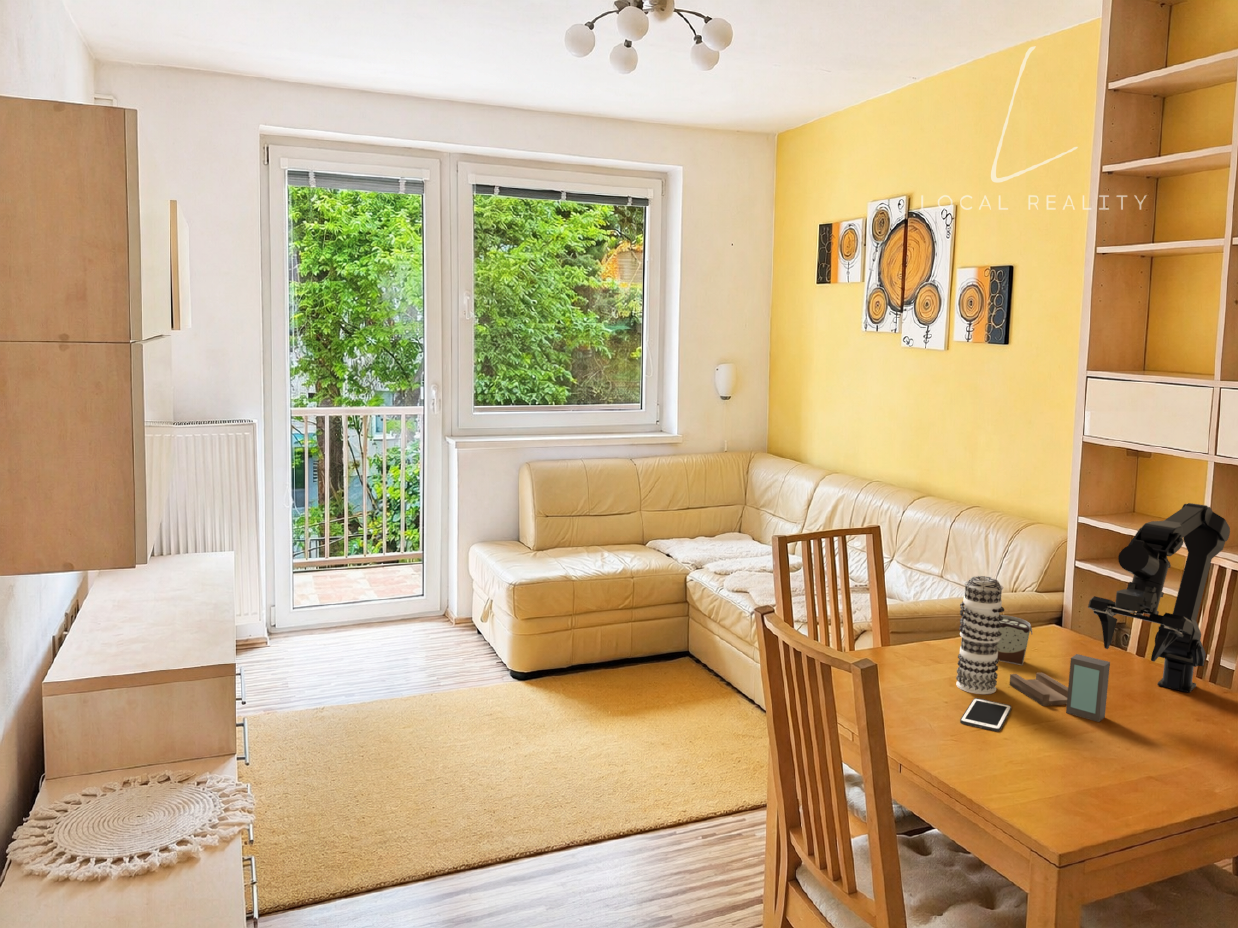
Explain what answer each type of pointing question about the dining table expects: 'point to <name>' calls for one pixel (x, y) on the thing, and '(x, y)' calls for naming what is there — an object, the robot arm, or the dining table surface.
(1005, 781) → the dining table surface
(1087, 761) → the dining table surface
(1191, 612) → the robot arm
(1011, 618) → the food container
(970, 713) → the cell phone
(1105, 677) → the grey rectangular box
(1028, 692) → the tray
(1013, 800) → the dining table surface
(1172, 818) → the dining table surface
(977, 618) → the decorative candle
